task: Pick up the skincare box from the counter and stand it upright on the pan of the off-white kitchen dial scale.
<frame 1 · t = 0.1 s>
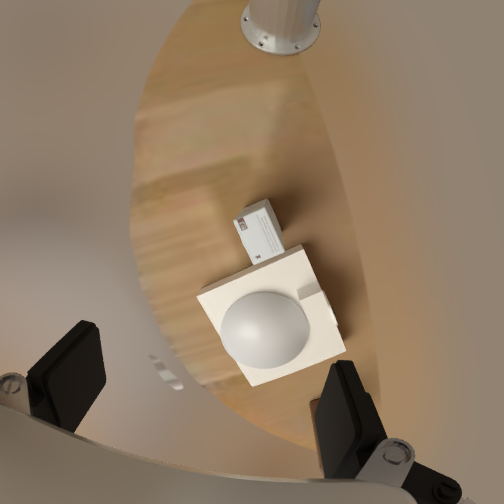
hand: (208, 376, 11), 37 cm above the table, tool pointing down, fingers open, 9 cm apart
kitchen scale: (274, 317, 51), on the table
wooden block: (323, 410, 57), on the table
skincare box: (261, 219, 47), on the table
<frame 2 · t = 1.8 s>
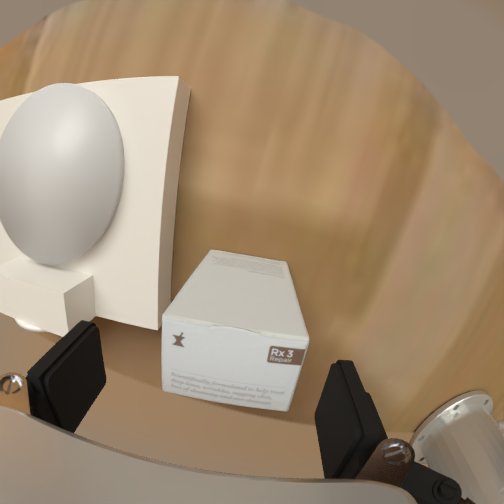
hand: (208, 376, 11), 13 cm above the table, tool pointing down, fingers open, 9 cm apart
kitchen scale: (71, 194, 22), on the table
skincare box: (247, 277, 24), on the table
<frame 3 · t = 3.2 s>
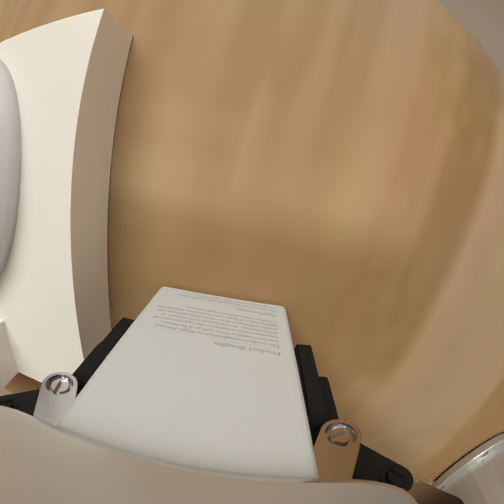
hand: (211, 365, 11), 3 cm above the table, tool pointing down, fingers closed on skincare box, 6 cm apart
skincare box: (222, 327, 15), on the table, touching gripper
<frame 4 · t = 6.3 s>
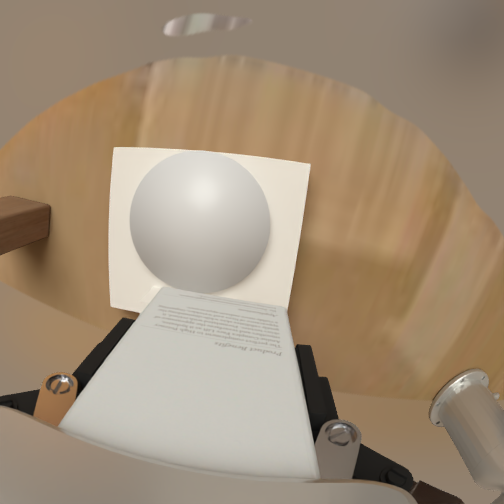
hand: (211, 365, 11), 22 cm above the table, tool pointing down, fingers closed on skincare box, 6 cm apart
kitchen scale: (202, 235, 33), on the table
wooden block: (29, 214, 34), on the table
skincare box: (222, 328, 15), point 19 cm above the table, touching gripper
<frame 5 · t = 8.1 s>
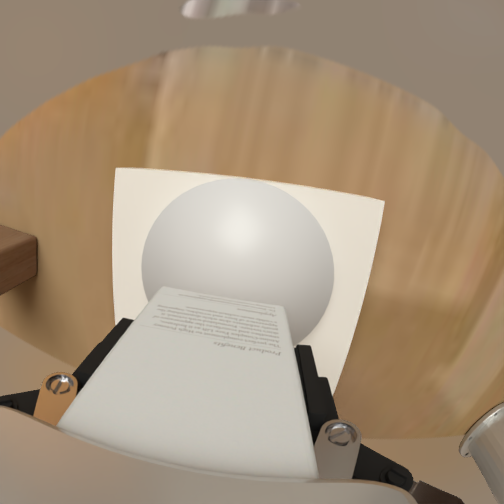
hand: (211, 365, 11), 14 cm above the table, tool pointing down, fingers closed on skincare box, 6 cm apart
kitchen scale: (237, 285, 26), on the table
wooden block: (13, 246, 26), on the table
skincare box: (221, 327, 15), point 11 cm above the table, touching gripper
when the fingers open (8 cm above the table, at t = 9.6 s): skincare box drops 1 cm, resting on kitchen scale.
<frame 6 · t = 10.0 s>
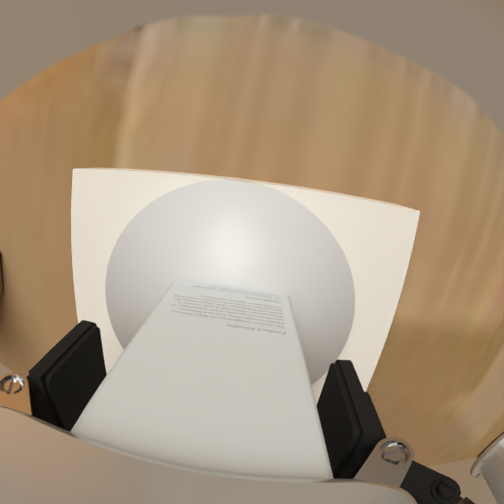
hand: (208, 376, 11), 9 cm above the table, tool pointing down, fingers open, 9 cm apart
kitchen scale: (228, 313, 20), on the table
skincare box: (231, 316, 16), point 4 cm above the table, touching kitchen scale
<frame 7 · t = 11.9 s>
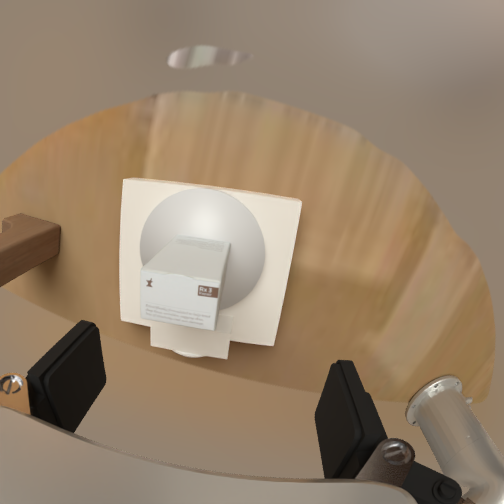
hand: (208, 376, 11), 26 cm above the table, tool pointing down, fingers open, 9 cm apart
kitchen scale: (204, 259, 37), on the table
wooden block: (39, 232, 37), on the table
skincare box: (203, 254, 33), point 4 cm above the table, touching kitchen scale
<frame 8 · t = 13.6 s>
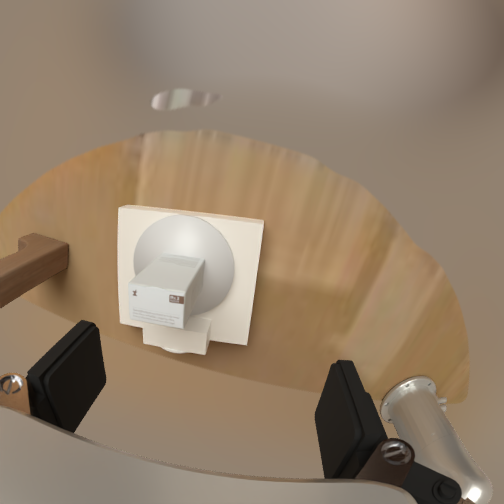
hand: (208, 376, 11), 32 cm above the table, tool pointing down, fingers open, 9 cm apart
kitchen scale: (187, 272, 44), on the table
wooden block: (50, 249, 44), on the table
skincare box: (184, 268, 40), point 4 cm above the table, touching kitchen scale
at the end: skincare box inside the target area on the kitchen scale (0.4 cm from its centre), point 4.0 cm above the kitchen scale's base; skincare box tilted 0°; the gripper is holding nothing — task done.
